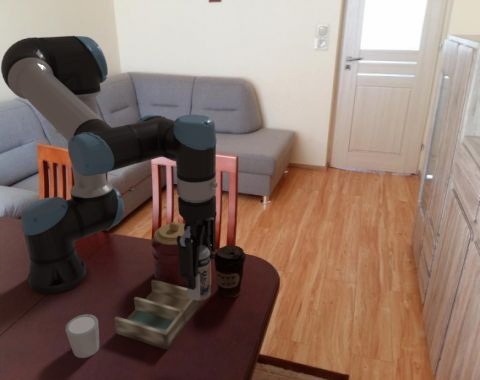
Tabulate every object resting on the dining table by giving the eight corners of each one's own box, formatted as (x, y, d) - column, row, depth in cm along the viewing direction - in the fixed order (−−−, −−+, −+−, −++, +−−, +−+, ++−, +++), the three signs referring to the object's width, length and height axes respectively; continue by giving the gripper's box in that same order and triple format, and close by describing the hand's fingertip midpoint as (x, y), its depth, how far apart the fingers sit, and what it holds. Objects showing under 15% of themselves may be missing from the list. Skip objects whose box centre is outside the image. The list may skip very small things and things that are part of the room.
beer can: (193, 304, 86) (192, 257, 81) (185, 291, 90) (183, 246, 85) (214, 298, 88) (213, 252, 83) (205, 286, 92) (204, 241, 87)
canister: (206, 267, 121) (204, 215, 114) (189, 293, 110) (186, 237, 102) (166, 260, 124) (162, 209, 117) (146, 284, 113) (140, 230, 106)
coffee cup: (241, 303, 106) (241, 262, 100) (210, 299, 107) (209, 258, 102) (247, 283, 114) (248, 244, 108) (219, 280, 115) (218, 241, 110)
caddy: (116, 333, 96) (114, 318, 94) (154, 292, 110) (152, 279, 108) (167, 350, 91) (166, 334, 89) (199, 305, 105) (199, 291, 103)
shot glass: (75, 338, 94) (70, 314, 91) (105, 336, 95) (101, 313, 92) (66, 361, 88) (60, 336, 85) (98, 359, 88) (93, 335, 86)
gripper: (193, 218, 70) (196, 321, 80) (231, 181, 85) (230, 272, 95) (155, 210, 72) (163, 311, 82) (200, 176, 88) (202, 265, 97)
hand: (199, 290), depth 88 cm, fingers closed on beer can, 5 cm apart
